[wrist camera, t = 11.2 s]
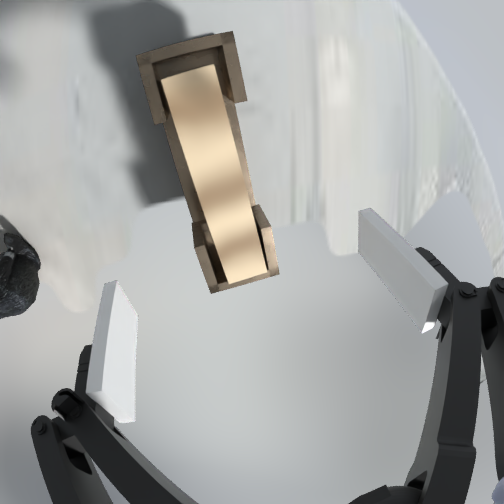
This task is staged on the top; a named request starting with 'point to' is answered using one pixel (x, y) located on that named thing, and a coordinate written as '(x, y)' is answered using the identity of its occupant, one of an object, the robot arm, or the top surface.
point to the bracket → (233, 91)
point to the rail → (215, 169)
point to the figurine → (18, 276)
